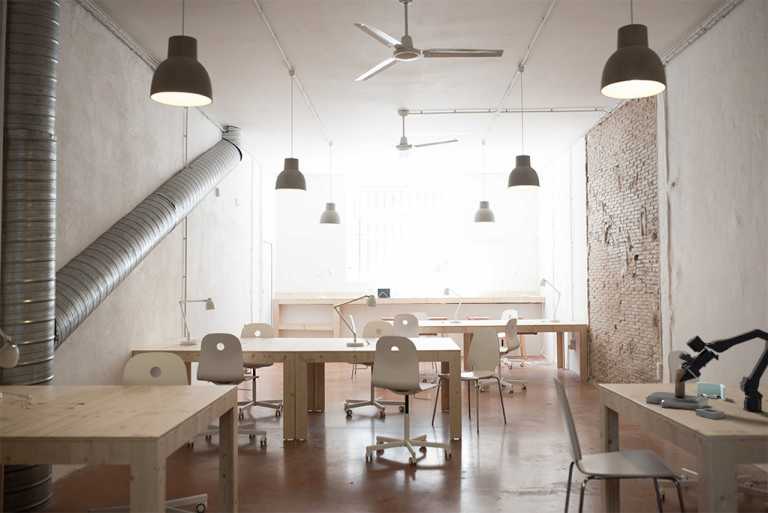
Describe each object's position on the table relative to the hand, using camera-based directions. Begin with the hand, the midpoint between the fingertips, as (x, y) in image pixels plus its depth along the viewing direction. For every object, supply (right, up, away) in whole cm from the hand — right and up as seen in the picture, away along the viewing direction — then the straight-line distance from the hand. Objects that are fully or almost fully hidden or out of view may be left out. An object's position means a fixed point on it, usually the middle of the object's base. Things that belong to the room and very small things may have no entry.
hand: (677, 380), depth 293 cm
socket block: (+2, -11, -25) cm, 27 cm away
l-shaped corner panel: (+28, -15, +21) cm, 38 cm away
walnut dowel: (+1, -7, 0) cm, 7 cm away
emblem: (0, -13, +1) cm, 13 cm away
